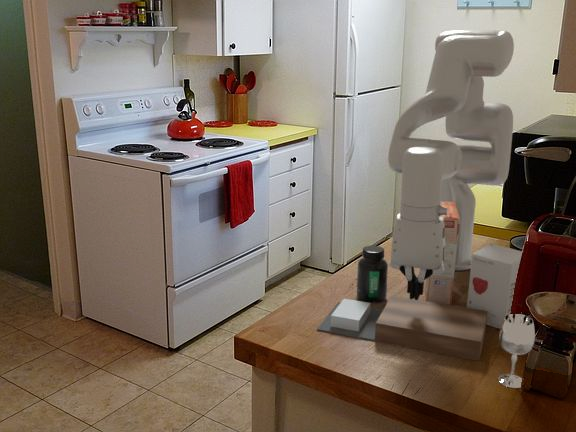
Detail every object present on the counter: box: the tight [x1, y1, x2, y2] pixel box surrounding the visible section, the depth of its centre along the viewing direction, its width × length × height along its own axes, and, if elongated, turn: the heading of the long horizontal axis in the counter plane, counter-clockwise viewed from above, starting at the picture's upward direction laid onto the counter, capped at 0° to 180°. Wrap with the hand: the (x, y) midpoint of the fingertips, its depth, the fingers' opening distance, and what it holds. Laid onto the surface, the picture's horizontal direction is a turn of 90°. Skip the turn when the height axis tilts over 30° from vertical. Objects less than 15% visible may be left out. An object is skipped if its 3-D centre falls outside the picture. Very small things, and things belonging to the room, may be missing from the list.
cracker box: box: [424, 202, 460, 305], centre depth 141 cm, size 14×6×21 cm, turn 168°
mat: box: [316, 301, 384, 342], centre depth 130 cm, size 14×12×1 cm
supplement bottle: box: [356, 245, 389, 304], centre depth 140 cm, size 7×7×12 cm
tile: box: [331, 298, 371, 332], centre depth 130 cm, size 9×6×2 cm, turn 158°
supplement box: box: [466, 243, 523, 330], centre depth 130 cm, size 9×9×15 cm
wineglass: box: [497, 313, 536, 389], centre depth 106 cm, size 6×6×12 cm
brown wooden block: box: [374, 295, 488, 362], centre depth 124 cm, size 14×20×4 cm
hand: (414, 296), depth 124 cm, fingers closed
